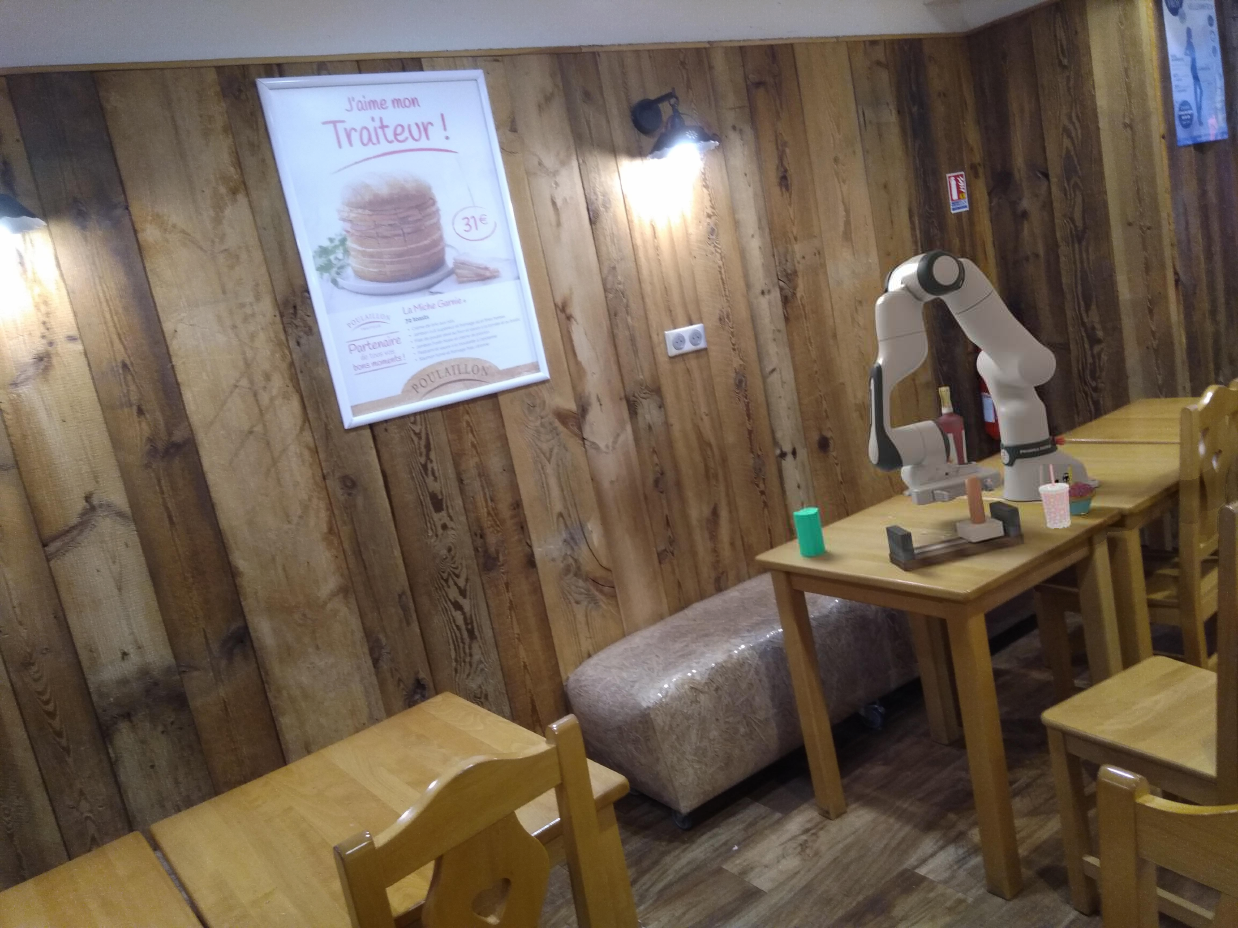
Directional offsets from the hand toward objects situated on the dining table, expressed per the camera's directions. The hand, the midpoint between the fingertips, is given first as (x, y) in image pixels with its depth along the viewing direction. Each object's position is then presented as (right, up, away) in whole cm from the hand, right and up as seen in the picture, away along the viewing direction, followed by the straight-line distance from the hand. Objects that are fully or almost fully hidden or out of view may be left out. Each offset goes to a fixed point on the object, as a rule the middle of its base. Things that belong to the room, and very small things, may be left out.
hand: (971, 492), depth 197 cm
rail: (-3, -13, 0) cm, 14 cm away
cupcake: (+28, -5, +10) cm, 30 cm away
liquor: (+18, 0, +55) cm, 57 cm away
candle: (-30, -15, +22) cm, 40 cm away
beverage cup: (+21, -8, +3) cm, 22 cm away
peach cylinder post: (+2, -9, 0) cm, 10 cm away
